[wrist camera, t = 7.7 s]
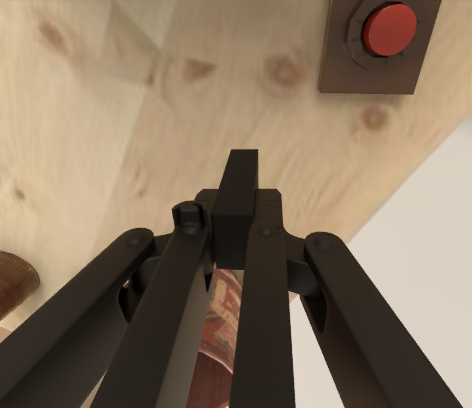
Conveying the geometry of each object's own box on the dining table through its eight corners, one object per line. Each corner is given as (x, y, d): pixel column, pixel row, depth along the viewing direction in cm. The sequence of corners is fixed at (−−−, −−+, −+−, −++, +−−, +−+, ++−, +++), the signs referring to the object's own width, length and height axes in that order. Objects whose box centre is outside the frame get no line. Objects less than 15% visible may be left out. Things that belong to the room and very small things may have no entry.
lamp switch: (368, 5, 27) (374, 4, 25) (413, 5, 27) (423, 4, 25) (358, 54, 29) (364, 55, 27) (400, 54, 29) (408, 56, 27)
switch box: (335, -42, 28) (344, -51, 25) (444, -44, 28) (468, -54, 24) (317, 89, 35) (322, 96, 31) (405, 91, 34) (420, 98, 30)
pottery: (218, 324, 59) (200, 428, 44) (139, 286, 56) (89, 384, 40) (269, 273, 50) (268, 380, 35) (179, 224, 47) (135, 319, 32)
